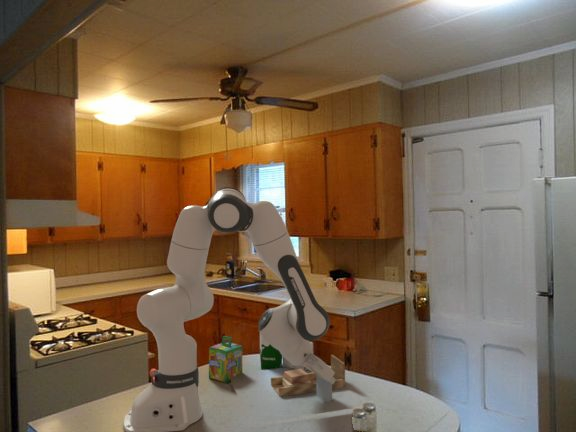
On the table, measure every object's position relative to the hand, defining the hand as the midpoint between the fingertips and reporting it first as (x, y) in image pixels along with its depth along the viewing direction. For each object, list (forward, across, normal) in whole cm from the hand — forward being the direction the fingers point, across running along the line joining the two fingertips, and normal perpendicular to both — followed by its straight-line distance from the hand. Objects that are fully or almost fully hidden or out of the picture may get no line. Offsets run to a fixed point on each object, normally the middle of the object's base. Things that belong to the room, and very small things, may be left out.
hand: (325, 376), depth 139 cm
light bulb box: (+10, +30, +2) cm, 32 cm away
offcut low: (+2, +12, +8) cm, 14 cm away
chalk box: (-10, +35, +22) cm, 42 cm away
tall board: (+5, 0, +6) cm, 8 cm away
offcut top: (0, +12, +6) cm, 13 cm away
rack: (+5, +11, +6) cm, 14 cm away
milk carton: (+4, +38, +8) cm, 39 cm away
